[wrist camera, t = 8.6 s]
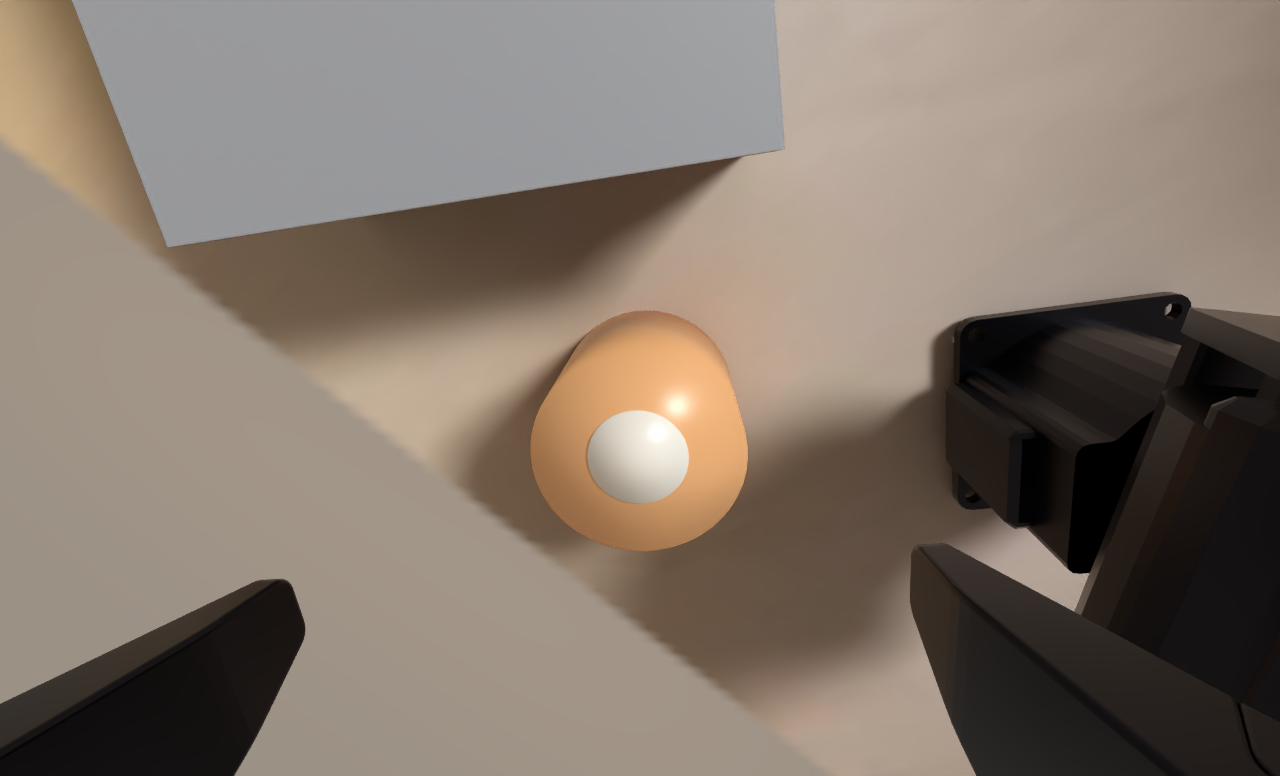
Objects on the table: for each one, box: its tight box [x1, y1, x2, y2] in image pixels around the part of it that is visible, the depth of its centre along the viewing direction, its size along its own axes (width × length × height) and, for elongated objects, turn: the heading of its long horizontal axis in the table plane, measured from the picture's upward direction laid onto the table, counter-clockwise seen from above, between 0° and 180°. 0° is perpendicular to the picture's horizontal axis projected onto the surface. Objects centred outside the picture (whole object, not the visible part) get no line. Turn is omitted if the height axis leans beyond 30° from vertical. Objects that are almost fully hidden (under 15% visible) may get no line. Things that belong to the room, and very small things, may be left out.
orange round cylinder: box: [530, 311, 748, 551], centre depth 18 cm, size 6×6×5 cm
